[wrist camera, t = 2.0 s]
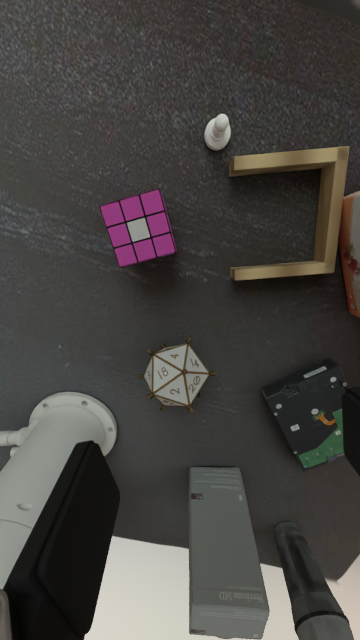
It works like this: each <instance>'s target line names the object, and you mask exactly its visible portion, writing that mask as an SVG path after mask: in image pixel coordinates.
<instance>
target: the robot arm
mask: <svg viewBox="0 0 360 640" xmlns="http://www.w3.org/2000/svg"><path fill="white" fill-rule="evenodd" d="M342 422H343V449H344V454H345V456H346V458H347V460H348V461H349V463H350V464H351V465H352V467H353V468H354V469H355V470H356V472H357V473H358V474H359V476H360V387H355V388H350V389H347V390H346V391H345V394H343V395H342ZM116 437H117V423H116V421H115V418H114V416H113V414H112V413H111V411H110V410H109V409H108V408H107V407H106V406H105V405H104V404H103V403H101V402H100V401H99V400H97V399H95V398H93V397H91V396H89V395H86V394H83V393H78V392H61V393H56V394H53V395H50V396H48V397H47V398H45V399H43V400H42V401H41V402H40V403H39V404H38V405H37V407H36V408H35V409H34V410H33V412H32V414H31V416H30V420H29V426H28V427H24V428H21V429H20V430H19V431H14V430H10V431H0V446H10V445H13V444H17V446H18V447H13V448H12V449H11V451H10V456H11V459H10V460H9V461H8V463H7V464H6V465H5V466H4V468H3V469H2V470H1V472H0V640H84V636H85V634H87V633H88V632H89V630H90V628H91V625H92V622H93V617H94V613H95V608H96V604H97V599H98V595H99V591H100V586H101V582H102V577H103V573H104V568H105V564H106V559H107V555H108V550H109V546H110V542H111V538H112V533H113V529H114V525H115V520H116V516H117V511H118V507H119V502H120V492H119V489H118V487H117V485H116V482H115V480H114V478H113V475H112V473H111V471H110V469H109V466H108V464H107V462H106V460H105V457H104V456H106V455H107V454H108V453H109V452H110V450H111V449H112V447H113V445H114V443H115V440H116Z"/></svg>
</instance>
